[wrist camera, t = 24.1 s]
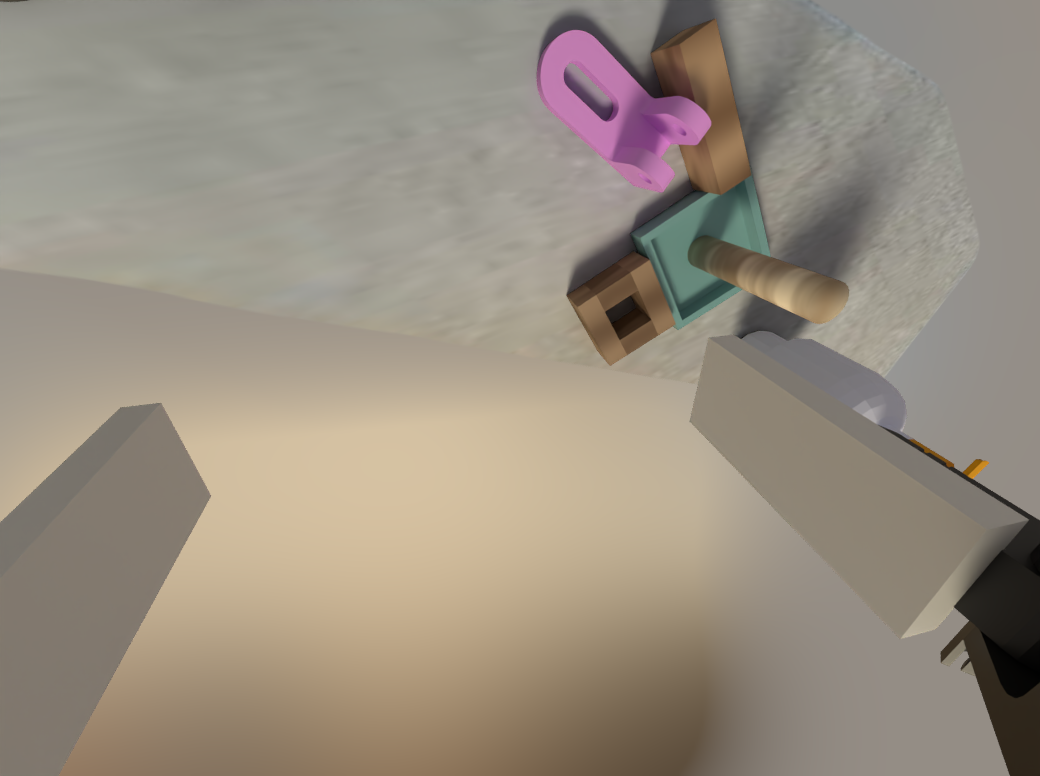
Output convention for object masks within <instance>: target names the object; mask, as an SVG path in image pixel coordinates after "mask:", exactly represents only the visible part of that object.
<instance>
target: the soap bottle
mask: <svg viewBox="0 0 1040 776" xmlns="http://www.w3.org/2000/svg"><path fill="white" fill-rule="evenodd" d="M741 340H743V341H745V342H746V343H748V344H749V345H751V346H753V347H754V348H756V349H757V350H759V351H761V352H762V353H764V354H765V355H767V356H769V357H770V358H772V359H773V360H775V361H777V362H778V363H780V364H781V365H783V366H785V367H786V368H788V369H789V370H791V371H793V372H794V373H796V374H797V375H799V376H801V377H802V378H804V379H805V380H807V381H808V382H810V383H812V384H813V385H815V386H816V387H818V388H820V389H821V390H823V391H824V392H826V393H828V394H829V395H831V396H832V397H834V398H836V399H837V400H839V401H840V402H842V403H844V404H845V405H847V406H848V407H850V408H852V409H853V410H855V411H856V412H858V413H860V414H861V415H863V416H864V417H866V418H868V419H869V420H871V421H872V422H874V423H876V424H877V425H880V426H882V427H885V428H887V429H889V430H892V431H894V432H897V433H899V434H900V435H902V436H904V437H905V438H907V439H908V440H910V441H912V442H913V443H915V444H917V445H918V446H920V447H921V448H923V449H924V452H925V453H931V454H933V455H934V456H936V457H938V458H939V459H941V460H943V461H944V462H946V465H947V466H948V467H954V464H953V463H952V462H950V461H948V460H947V459H945V458H943V457H942V456H940V455H939V454H937V453H935V452H934V451H932V450H930V449H929V448H927V447H925V446H924V445H922V444H921V443H919V442H917V441H916V440H914V439H913V438H911V437H909V436H908V435H906V434H904V433H903V432H902V431H903V428H904V425H905V422H906V419H907V413H906V406H905V401H904V399H903V398H902V396H901V395H900V393H899V391H898V390H897V389H896V388H895V387H894V386H892V385H891V384H890V383H889V382H888V381H887V380H886V379H884V378H883V377H882V376H880V375H879V374H878V373H876V372H874V371H872V370H870V369H868V368H866V367H864V366H862V365H861V364H859V363H857V362H855V361H853V360H851V359H849V358H847V357H845V356H843V355H841V354H839V353H837V352H835V351H833V350H831V349H830V348H828V347H826V346H824V345H822V344H820V343H818V342H816V341H814V340H812V339H799V338H795V339H792V340H789V341H787V340H785V339H783V338H781V337H779V336H778V335H776V334H774V333H772V332H769V331H756V332H753V333H750V334H747V335H746V336H745V337H743V338H742V339H741ZM987 464H989V462H987V461H982V460H981V459H976V460H975V461H974V462H973V463H972V464H971V465H970V466H969V467H968V468H967V469H966V470H965V471H964V472H963V473H964V474H965V475H967V476H968V477H970V478H972V479H973V478H974V477H975V476H976V475H977V474H978V473H979V472H980V471H981V470H982V469H983V468H984V467H985V466H986V465H987Z"/></svg>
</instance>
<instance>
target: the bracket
mask: <svg viewBox="0 0 1040 776" xmlns="http://www.w3.org/2000/svg"><path fill="white" fill-rule="evenodd" d="M569 63H573V64H575V65H576V66H578V67H579V68H580V69H581V70H582V71H583V72H584V73H585V74H586V75H587V76H588V77H589V78H590V79H591V80H592V81H593V82H594V83H595V84H596V85H597V86H598V87H599V88H600V89H601V90H602V91H603V92H604V93H605V94H606V95H607V96H608V97H609V98H610V99H611V101H612V104H613V112H612V114H611V116H610V118H609V119H608V120H606V121H603V120H602V119H601V118H600V117H599V116H597V115H596V114H595V113H594V112H593V111H592V110H591V109H590V108H589V107H588V106H587V105H586V104H585V103H584V102H583V101H582V100H581V99H580V98H579V97H578V96H576V95H575V94H574V93H573V92H572V91H571V90H570V89H569V88H568V87H567V86H566V84H565V82H564V70H565V68H566V66H567V65H568V64H569ZM537 87H538V91H539V95H540V97H541V99H542V101H543V103H544V104H545V106H546V107H547V108H548V109H549V110H550V111H551V112H552V113H553V114H554V115H555V116H556V117H558V118H559V119H560V120H561V121H562V122H563V123H564V124H565V125H566V126H568V127H569V128H570V129H571V130H572V131H573V132H574V133H575V134H576V135H578V136H579V137H580V138H581V139H582V140H583V141H584V142H585V143H587V144H588V145H589V146H590V147H591V148H592V149H593V150H594V151H595V152H597V153H598V154H599V155H600V156H601V157H602V158H603V159H604V160H605V161H607V162H608V163H609V164H610V165H611V166H612V167H613V168H614V169H616V170H617V171H618V172H619V173H620V174H621V175H622V176H623V177H624V178H626V179H627V180H628V181H629V182H630V183H631V184H632V185H633V186H636V187H640V188H644V189H649V190H653V191H657V192H663V191H664V190H665V188H666V187H667V186H668V184H669V183H670V182H671V180H672V179H673V178H674V176H675V173H674V171H673V170H672V169H671V167H670V166H669V165H668V164H667V163H666V162H665V161H663V160H662V159H661V157H662V155H663V154H664V153H665V151H666V150H667V148H668V147H669V145H670V144H680V145H697V144H698V143H699V142H700V141H701V139H702V138H703V136H704V135H705V134H706V132H707V131H708V130H709V128H710V127H711V120H710V118H709V116H708V115H707V114H706V112H705V111H704V110H703V109H702V108H701V107H700V106H698V105H697V104H696V103H694V102H693V101H691V100H689V99H687V98H685V97H682V96H672V97H664V98H657V99H655V98H653V97H651V96H650V95H649V94H648V93H647V92H646V91H645V90H644V89H643V88H642V87H641V86H640V85H639V84H638V83H637V81H636V80H635V79H634V78H633V77H632V76H631V75H630V74H629V73H628V72H627V71H626V70H625V69H624V68H623V67H622V66H621V65H620V63H619V62H618V61H617V60H616V59H615V58H614V57H613V56H612V55H611V54H610V53H609V52H608V51H607V50H606V49H605V48H604V47H603V45H602V44H601V43H600V42H599V41H598V40H597V39H596V38H595V37H594V36H592V35H591V34H589V33H587V32H585V31H581V30H571V31H567V32H565V33H563V34H561V35H559V36H558V37H556V38H555V39H554V40H552V41H551V42H550V43H549V44H548V45H547V47H546V48H545V49H544V51H543V53H542V55H541V57H540V60H539V63H538V68H537Z"/></svg>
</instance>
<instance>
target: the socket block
mask: <svg viewBox="0 0 1040 776" xmlns="http://www.w3.org/2000/svg"><path fill="white" fill-rule="evenodd" d="M630 295H631V297H632V300H633V302H634V304H635V306H636V309H634V310H633V311H631V312H630V313H628V314H627V315H625V316H623V317H622V318H620V319H619V320H617V321H616V322H614V323H613V324H611V323H610V321H609V319H608V317H607V315H606V313H605V312H606V311H607V310H609V309H610V308H612V307H613V306H615V305H616V304H618V303H619V302H621V301H622V300H624V299H626V298H627V297H629V296H630ZM567 297H568V299H569V301H570V303H571V305H572V306H573V308H574V310H575V312H576V313H577V315H578V317H579V319H580V321H581V322H582V324H583V326H584V328H585V329H586V331H587V333H588V335H589V337H590V338H591V340H592V342H593V344H594V345H595V347H596V349H597V351H598V352H599V353H600V355H601V356H602V357H603V358H604V359H605V360H606V362H607V363H608V364H609V365H610V366H611V365H612V364H614V363H615V362H617V361H618V360H620V359H622V358H623V357H625V356H626V355H628V354H630V353H631V352H633V351H634V350H636V349H637V348H639V347H641V346H642V345H644V344H645V343H647V342H648V341H650V340H652V339H653V338H655V337H656V336H658V335H660V334H661V333H663V332H664V331H666V330H667V329H669V328H671V327H672V326H674V325H675V324H676V323H675V321H674V318H673V316H672V313H671V311H670V308H669V306H668V303H667V301H666V299H665V296H664V294H663V291H662V289H661V286H660V284H659V281H658V279H657V277H656V274H655V272H654V269H653V267H652V264H651V262H650V260H649V259H647V258H645V257H643V256H641V255H640V254H638V253H636V252H634V251H633V252H632V253H630V254H628V255H627V256H625V257H624V258H622V259H621V260H619V261H618V262H616V263H615V264H613V265H612V266H610V267H609V268H607V269H606V270H604V271H603V272H601V273H600V274H598V275H597V276H595V277H594V278H592V279H591V280H589V281H588V282H586V283H585V284H583V285H582V286H580V287H579V288H577V289H576V290H574V291H573V292H571V293H570V294H568V295H567Z"/></svg>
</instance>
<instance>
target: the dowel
mask: <svg viewBox="0 0 1040 776" xmlns="http://www.w3.org/2000/svg"><path fill="white" fill-rule="evenodd" d="M687 257H688V261H689V263H690V264H691V265H692V266H694V267H696V268H699V269H701V270H703V271H705V272H707V273H709V274H711V275H713V276H716V277H718V278H720V279H722V280H724V281H726V282H728V283H730V284H733V285H735V286H737V287H739V288H741V289H743V290H745V291H747V292H750V293H752V294H754V295H756V296H758V297H760V298H762V299H764V300H767V301H769V302H771V303H773V304H775V305H777V306H779V307H781V308H784V309H786V310H788V311H790V312H792V313H794V314H796V315H798V316H801V317H803V318H805V319H807V320H809V321H811V322H813V323H816V324H822V323H826V322H828V321H830V320H832V319H833V318H834V317H836V316H837V315H838V314H839V313H840V312H841V311H842V309H843V308H844V306H845V304H846V302H847V300H848V296H849V289H848V286H847V285H846V284H845V283H844V282H841V281H839V280H836V279H833V278H830V277H827V276H824V275H821V274H818V273H815V272H812V271H810V270H807V269H804V268H801V267H798V266H795V265H792V264H789V263H786V262H783V261H781V260H778V259H775V258H772V257H769V256H766V255H763V254H760V253H757V252H754V251H752V250H749V249H746V248H743V247H740V246H737V245H734V244H731V243H728V242H726V241H723V240H720V239H717V238H714V237H711V236H708V235H704V236H700V237H698V238H697V239H695V240H694V241H693V242H692V244H691V245H690V247H689V250H688V255H687Z"/></svg>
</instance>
